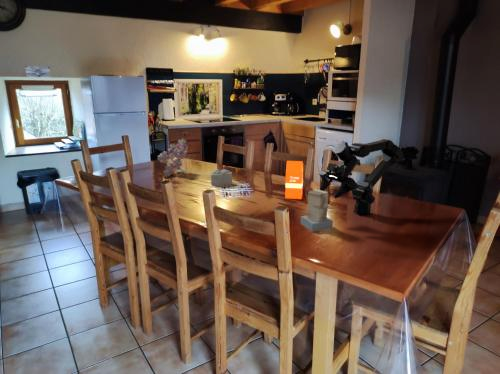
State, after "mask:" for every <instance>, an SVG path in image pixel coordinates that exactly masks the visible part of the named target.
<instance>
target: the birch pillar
mask: <svg viewBox="0 0 500 374" xmlns="http://www.w3.org/2000/svg"><path fill="white" fill-rule="evenodd" d="M328 201H329V192H328V191H326V190H324V191H322V190H320V189H316V190H313V191H310V192H308V201H307V211H306V213H307V214H306V215H307V219H310V220H314V221H317V222H320V221H322V220H325V219H327V218H328V203H329V202H328Z"/></svg>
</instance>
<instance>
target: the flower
mask: <svg viewBox="0 0 500 374" xmlns="http://www.w3.org/2000/svg"><path fill="white" fill-rule="evenodd" d="M181 137H182V136H181ZM177 140H178V141H177V144H175V143H172V144H171V143H170V144H169V148H168V149H167V151H165V150H164V151H163V152H161V153H159V155H157V161H159V162H160V163H165V164H167V165H166V166H165V170H163V174H164V176H166V177H170V176H171V175H172V174H175V172H176V173H183V174H186V173H185V171H186V169H185V167H183V168H181V167H182V165H183V163H182V160H184V159H185V158H186V155H187V154H188V150H187V149H188V147H189V146H188V145H187V144H186V143H187V140H186V139H184V138H183V137H182V138H181V140H180V139H177ZM168 152H169V153H170V152H171V153H170V154H168ZM174 158H175V159H174ZM173 159H174V160H173ZM169 160H171V162H169ZM174 168H175V169H177V171H175V169H174ZM173 169H174V170H173Z"/></svg>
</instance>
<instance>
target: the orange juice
mask: <svg viewBox="0 0 500 374" xmlns="http://www.w3.org/2000/svg"><path fill="white" fill-rule="evenodd" d="M303 181H304V162H303V161H302V160H301V161H300V160H286V169H285V187H284V188H285V193H284V196H285V197H284V199H291V200H292V199H293V200H296V199H297V200H302V198H303V183H304V182H303Z"/></svg>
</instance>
